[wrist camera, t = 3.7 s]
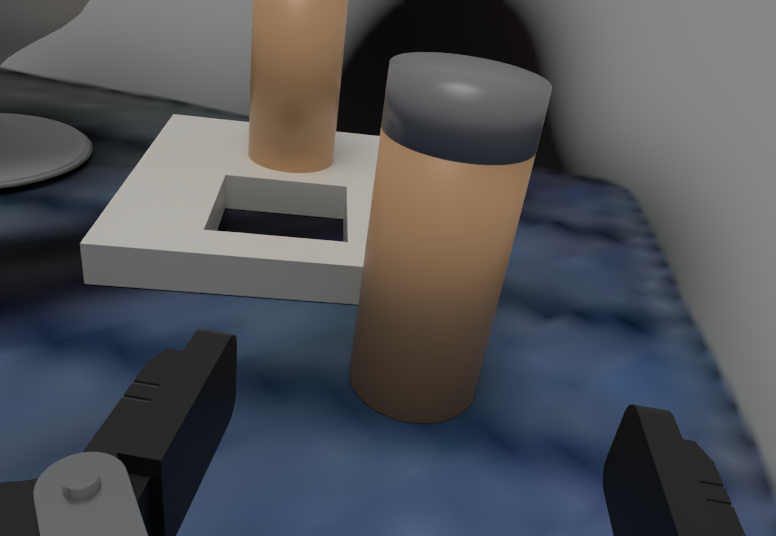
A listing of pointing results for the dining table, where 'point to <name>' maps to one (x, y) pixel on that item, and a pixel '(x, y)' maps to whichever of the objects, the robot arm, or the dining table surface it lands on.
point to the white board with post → (250, 179)
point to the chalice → (31, 133)
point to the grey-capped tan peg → (441, 228)
